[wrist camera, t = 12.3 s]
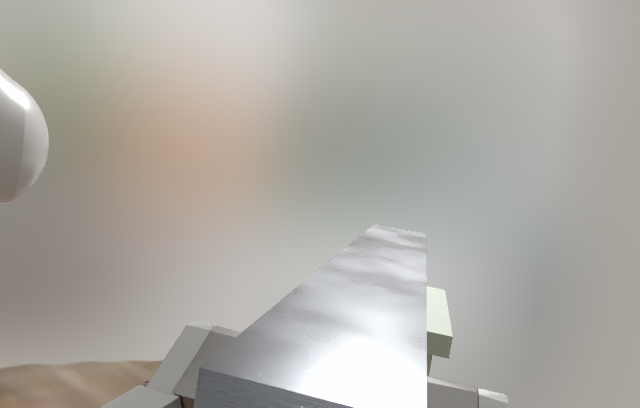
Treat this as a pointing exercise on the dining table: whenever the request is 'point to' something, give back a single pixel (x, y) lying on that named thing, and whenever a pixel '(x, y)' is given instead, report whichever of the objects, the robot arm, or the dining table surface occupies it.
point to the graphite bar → (335, 336)
